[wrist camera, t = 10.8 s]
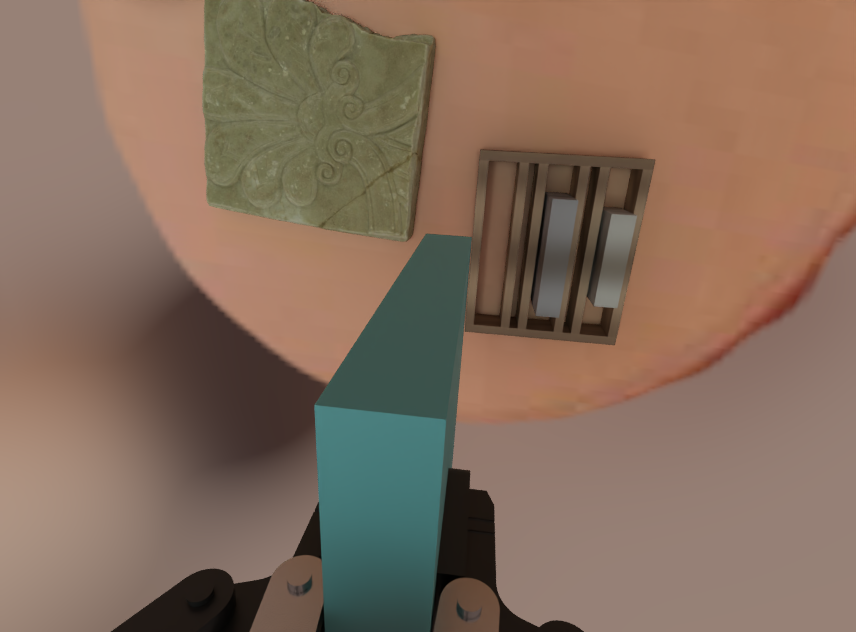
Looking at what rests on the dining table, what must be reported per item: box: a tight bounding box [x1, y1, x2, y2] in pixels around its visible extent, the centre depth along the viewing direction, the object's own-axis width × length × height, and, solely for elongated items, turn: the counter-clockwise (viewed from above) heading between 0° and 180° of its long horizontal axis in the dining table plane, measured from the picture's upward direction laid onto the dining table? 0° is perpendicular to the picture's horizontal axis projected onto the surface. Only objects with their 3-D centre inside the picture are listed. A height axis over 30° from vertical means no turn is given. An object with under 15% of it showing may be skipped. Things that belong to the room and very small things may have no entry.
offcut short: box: [587, 207, 637, 308], centre depth 41 cm, size 8×2×5 cm, turn 177°
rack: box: [465, 150, 655, 345], centre depth 42 cm, size 17×14×3 cm
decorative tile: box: [203, 0, 436, 241], centre depth 40 cm, size 19×20×4 cm
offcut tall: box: [530, 192, 578, 318], centre depth 40 cm, size 10×2×6 cm, turn 177°
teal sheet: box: [315, 234, 472, 632], centre depth 15 cm, size 12×2×14 cm, turn 177°
